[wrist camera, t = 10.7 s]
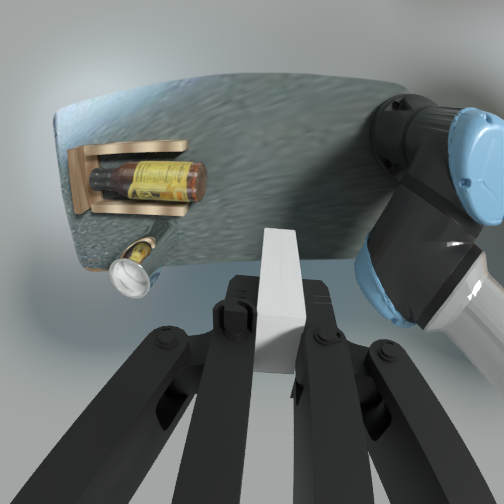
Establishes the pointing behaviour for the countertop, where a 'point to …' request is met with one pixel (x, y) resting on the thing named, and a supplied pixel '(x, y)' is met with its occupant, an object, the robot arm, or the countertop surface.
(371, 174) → the countertop surface
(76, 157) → the bracket
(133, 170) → the sauce bottle
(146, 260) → the beer glass
